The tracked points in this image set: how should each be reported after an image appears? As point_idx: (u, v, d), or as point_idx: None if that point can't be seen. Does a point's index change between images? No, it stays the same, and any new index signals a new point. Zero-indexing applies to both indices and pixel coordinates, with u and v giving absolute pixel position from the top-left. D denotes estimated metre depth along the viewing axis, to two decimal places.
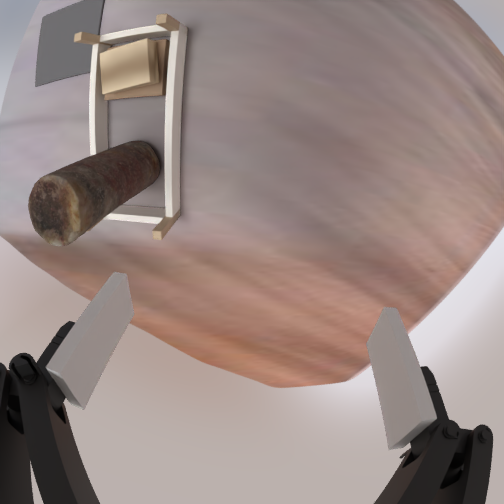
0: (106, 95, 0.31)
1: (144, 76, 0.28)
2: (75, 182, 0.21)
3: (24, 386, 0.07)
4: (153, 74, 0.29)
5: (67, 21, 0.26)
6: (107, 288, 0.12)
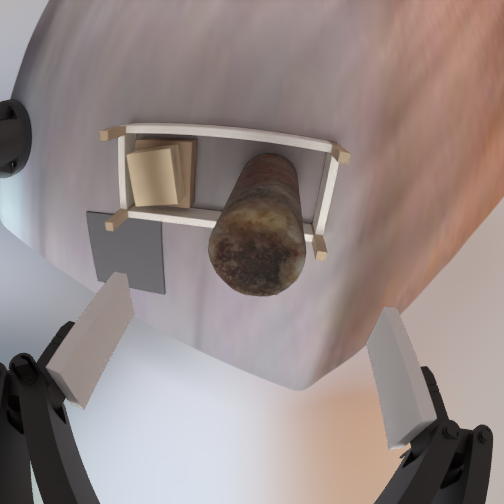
0: (184, 205, 0.38)
1: (164, 154, 0.31)
2: (227, 211, 0.21)
3: (24, 386, 0.07)
4: (165, 147, 0.32)
5: (106, 252, 0.45)
6: (107, 288, 0.12)
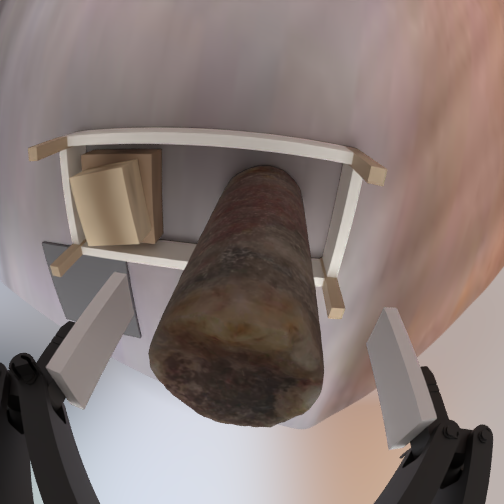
0: (148, 240, 0.27)
1: (114, 176, 0.21)
2: (174, 307, 0.10)
3: (24, 386, 0.07)
4: (118, 165, 0.22)
5: (69, 289, 0.35)
6: (107, 288, 0.12)
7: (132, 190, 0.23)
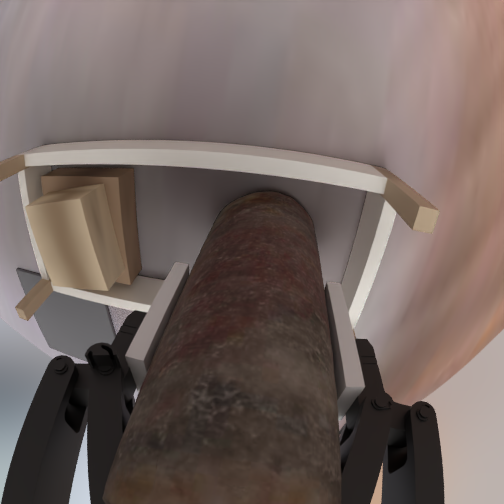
0: (123, 280, 0.22)
1: (72, 209, 0.16)
2: (120, 479, 0.05)
3: (98, 376, 0.08)
4: (79, 193, 0.16)
5: (49, 319, 0.29)
6: (173, 277, 0.14)
7: (96, 225, 0.17)
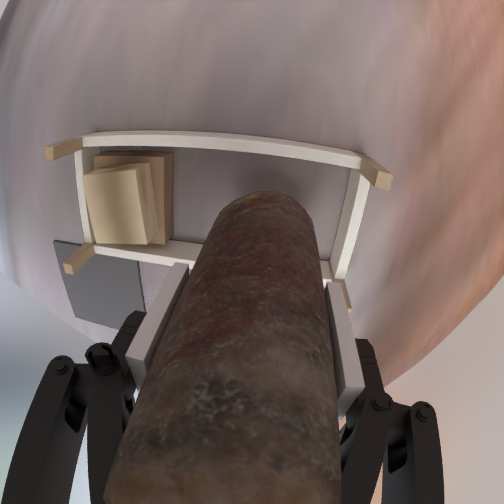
0: (159, 241, 0.28)
1: (127, 178, 0.22)
2: (120, 478, 0.05)
3: (98, 376, 0.08)
4: (131, 167, 0.23)
5: (80, 287, 0.36)
6: (173, 277, 0.14)
7: (143, 192, 0.24)
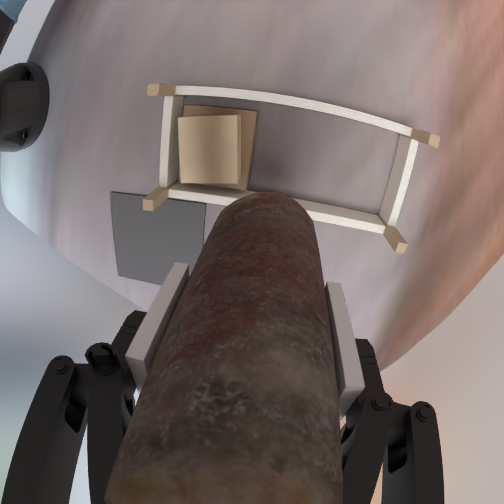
0: (240, 186, 0.32)
1: (228, 121, 0.26)
2: (121, 480, 0.05)
3: (98, 376, 0.08)
4: None
5: (132, 241, 0.39)
6: (173, 277, 0.14)
7: (238, 137, 0.27)
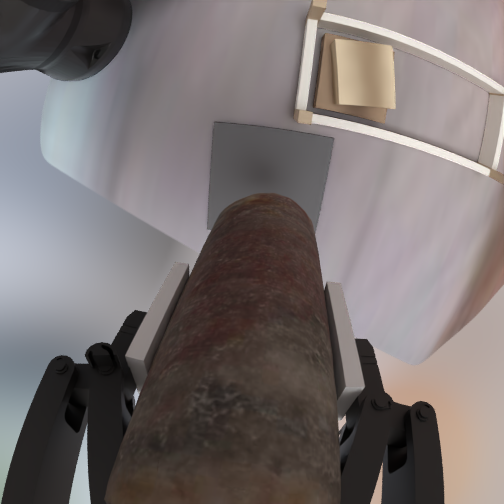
0: (379, 119, 0.27)
1: (384, 50, 0.20)
2: (121, 480, 0.05)
3: (98, 376, 0.08)
4: None
5: (236, 182, 0.34)
6: (173, 277, 0.14)
7: None
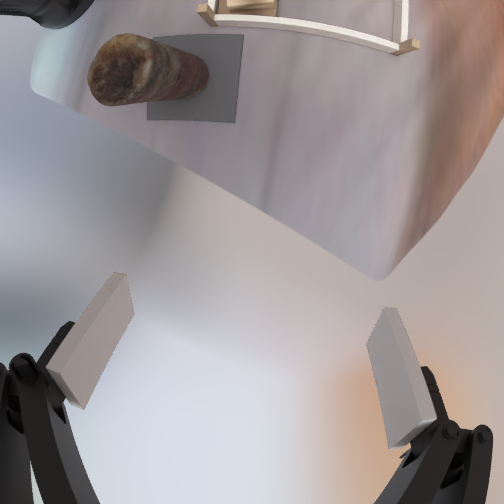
0: (271, 14, 0.29)
1: None
2: None
3: (24, 386, 0.07)
4: None
5: None
6: (107, 288, 0.12)
7: None
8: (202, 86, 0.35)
